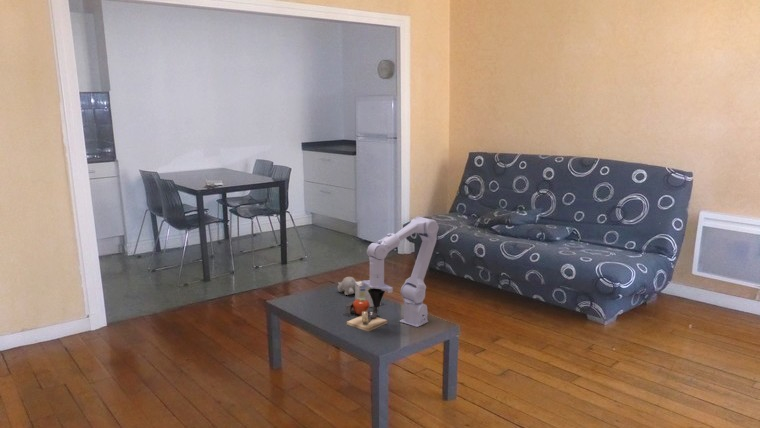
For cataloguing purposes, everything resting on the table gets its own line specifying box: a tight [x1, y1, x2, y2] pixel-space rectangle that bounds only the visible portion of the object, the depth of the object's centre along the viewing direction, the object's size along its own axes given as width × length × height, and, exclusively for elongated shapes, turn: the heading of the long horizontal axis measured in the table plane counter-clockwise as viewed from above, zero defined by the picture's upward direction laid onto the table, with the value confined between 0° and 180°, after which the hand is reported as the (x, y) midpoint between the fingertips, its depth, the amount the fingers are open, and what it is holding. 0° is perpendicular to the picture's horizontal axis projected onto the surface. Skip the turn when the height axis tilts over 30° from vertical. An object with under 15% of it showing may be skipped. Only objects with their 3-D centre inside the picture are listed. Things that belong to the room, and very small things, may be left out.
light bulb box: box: [354, 279, 382, 308], centre depth 258 cm, size 11×7×11 cm, turn 111°
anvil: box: [343, 301, 356, 317], centre depth 248 cm, size 3×7×4 cm, turn 163°
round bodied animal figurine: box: [337, 276, 357, 296], centre depth 274 cm, size 7×12×8 cm, turn 46°
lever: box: [361, 306, 380, 324], centre depth 238 cm, size 16×4×5 cm, turn 161°
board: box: [346, 315, 388, 332], centre depth 236 cm, size 12×12×1 cm
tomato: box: [352, 296, 371, 316], centre depth 247 cm, size 7×7×8 cm
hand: (376, 306), depth 226 cm, fingers closed
